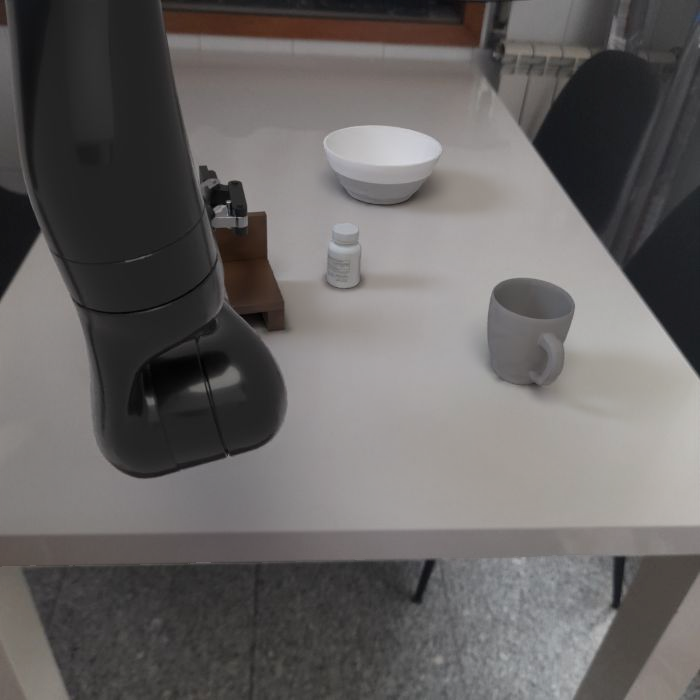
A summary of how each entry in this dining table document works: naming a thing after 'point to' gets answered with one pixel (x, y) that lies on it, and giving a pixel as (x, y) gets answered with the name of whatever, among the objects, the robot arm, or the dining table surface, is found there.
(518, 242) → the dining table surface
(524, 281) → the mug
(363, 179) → the bowl
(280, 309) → the wooden stand
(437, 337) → the dining table surface
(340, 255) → the pill bottle
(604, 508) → the dining table surface
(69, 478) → the dining table surface
